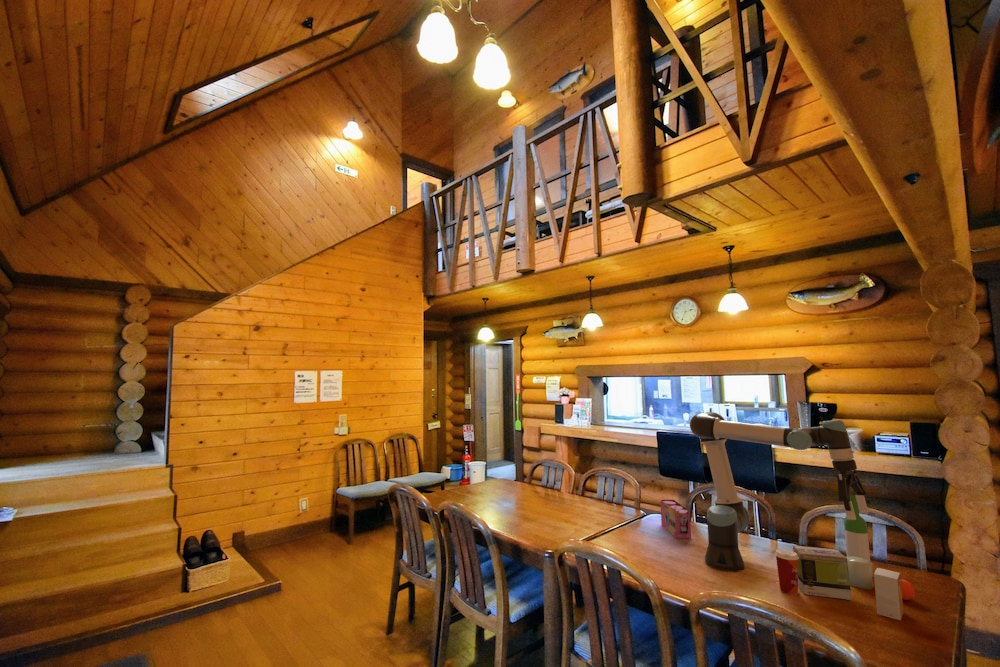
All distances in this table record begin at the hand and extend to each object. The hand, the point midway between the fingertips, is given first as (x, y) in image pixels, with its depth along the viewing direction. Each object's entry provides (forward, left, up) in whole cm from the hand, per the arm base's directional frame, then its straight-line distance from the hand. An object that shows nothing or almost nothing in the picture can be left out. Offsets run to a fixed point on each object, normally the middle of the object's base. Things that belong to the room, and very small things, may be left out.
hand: (858, 516), depth 173 cm
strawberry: (+5, -10, -27) cm, 29 cm away
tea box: (-18, +1, -27) cm, 33 cm away
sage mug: (+3, +3, -27) cm, 27 cm away
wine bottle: (+17, +15, -27) cm, 35 cm away
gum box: (-30, +75, -27) cm, 85 cm away
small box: (-10, -17, -27) cm, 33 cm away
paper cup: (-30, +4, -27) cm, 41 cm away
